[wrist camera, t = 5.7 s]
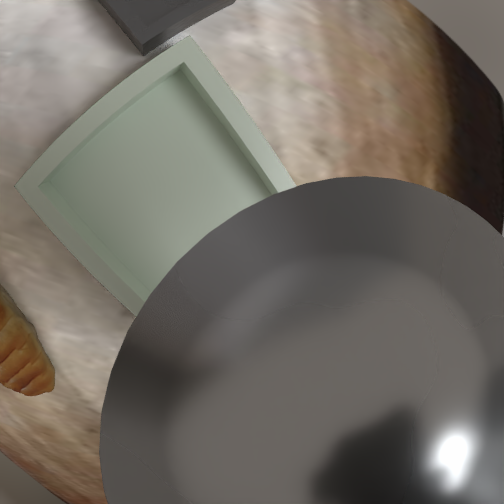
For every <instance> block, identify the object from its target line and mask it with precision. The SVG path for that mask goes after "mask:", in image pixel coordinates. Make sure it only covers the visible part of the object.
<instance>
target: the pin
mask: <svg viewBox="0 0 504 504" xmlns="http://www.w3.org/2000/svg"><path fill="white" fill-rule="evenodd" d="M99 454H100V464H101V472H102V480H103V487H104V492H105V495H106V499H107V502H108V504H504V238H503V236H502V235H501V234H500V233H499V232H498V231H496V230H495V229H494V228H493V227H492V226H491V225H490V224H489V223H488V222H487V221H486V220H484V219H483V218H482V217H480V216H479V215H478V214H476V213H475V212H473V211H472V210H471V209H469V208H468V207H466V206H465V205H463V204H461V203H459V202H458V201H456V200H454V199H452V198H450V197H448V196H446V195H444V194H442V193H440V192H437V191H434V190H432V189H429V188H427V187H424V186H421V185H418V184H414V183H409V182H405V181H401V180H396V179H389V178H379V177H367V176H363V177H342V178H333V179H327V180H322V181H317V182H312V183H306V184H303V185H300V186H297V187H294V188H291V189H288V190H285V191H282V192H279V193H276V194H273V195H271V196H269V197H267V198H265V199H263V200H261V201H259V202H257V203H255V204H253V205H251V206H249V207H247V208H245V209H243V210H241V211H240V212H238V213H237V214H235V215H234V216H232V217H231V218H229V219H228V220H226V221H225V222H224V223H222V224H221V225H219V226H218V227H216V228H215V229H213V230H212V231H211V232H209V233H208V234H207V235H205V236H204V237H203V238H202V239H201V240H200V241H199V242H198V243H197V244H196V245H195V246H193V247H192V248H191V249H190V250H189V251H188V252H187V253H186V254H185V255H184V256H183V257H182V258H180V259H179V260H178V261H177V262H176V264H175V265H174V266H173V267H172V268H171V270H170V271H169V272H168V273H167V274H166V276H165V277H164V278H163V279H162V280H161V282H160V283H159V284H158V285H157V287H156V288H155V289H154V290H153V292H152V293H151V294H150V295H149V297H148V299H147V300H146V302H145V304H144V305H143V307H142V309H141V310H140V312H139V313H138V315H137V317H136V318H135V320H134V322H133V323H132V325H131V327H130V329H129V330H128V332H127V334H126V337H125V339H124V341H123V344H122V346H121V349H120V351H119V353H118V356H117V358H116V361H115V363H114V366H113V368H112V371H111V374H110V378H109V382H108V387H107V391H106V395H105V399H104V404H103V408H102V414H101V429H100V448H99Z"/></svg>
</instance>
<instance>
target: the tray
mask: <svg viewBox="0 0 504 504" xmlns="http://www.w3.org/2000/svg"><path fill="white" fill-rule="evenodd" d="M14 187H15V188H16V189H17V191H18V192H19V193H20V194H21V196H22V197H23V198H24V199H25V201H26V202H27V203H28V204H29V206H30V207H31V208H32V209H33V210H34V212H35V213H36V214H37V215H38V216H39V218H40V219H41V220H42V221H43V222H44V223H45V225H46V226H47V227H48V228H49V229H50V230H51V231H52V233H53V234H54V235H55V236H56V237H57V238H58V239H59V240H60V241H61V243H62V244H63V245H64V246H65V247H66V248H67V249H68V250H69V251H70V252H71V253H72V254H73V255H74V257H75V258H76V259H77V260H78V261H79V262H80V263H81V264H82V265H83V266H84V267H85V268H86V269H87V270H88V271H89V272H90V273H91V274H92V275H93V276H94V277H95V278H96V279H97V280H98V281H99V282H100V283H101V284H102V285H103V286H104V287H105V288H106V289H107V290H108V291H109V292H110V293H111V294H112V295H113V296H114V297H115V298H117V299H118V300H119V301H120V302H121V303H122V304H123V305H124V306H125V307H126V308H127V309H128V310H129V311H131V312H132V313H133V314H134V315H135V316H136V317H137V315H138V313H139V312H140V310H141V309H142V307H143V305H144V304H145V302H146V300H147V299H148V297H149V295H150V294H151V293H152V292H153V290H154V289H155V288H156V287H157V285H158V284H159V283H160V282H161V280H162V279H163V278H164V277H165V276H166V274H167V273H168V272H169V271H170V270H171V268H172V267H173V266H174V265H175V264H176V262H177V261H178V260H179V259H180V258H182V257H183V256H184V255H185V254H186V253H187V252H188V251H189V250H190V249H191V248H192V247H193V246H195V245H196V244H197V243H198V242H199V241H200V240H201V239H202V238H203V237H204V236H205V235H207V234H208V233H209V232H211V231H212V230H213V229H215V228H216V227H218V226H219V225H221V224H222V223H224V222H225V221H226V220H228V219H229V218H231V217H232V216H234V215H235V214H237V213H238V212H240V211H241V210H243V209H245V208H247V207H249V206H251V205H253V204H255V203H257V202H259V201H261V200H263V199H265V198H267V197H269V196H271V195H273V194H276V193H279V192H282V191H285V190H288V189H291V188H294V187H297V186H296V185H295V183H294V181H293V180H292V178H291V177H290V175H289V174H288V172H287V170H286V169H285V167H284V166H283V164H282V163H281V161H280V160H279V158H278V157H277V155H276V154H275V152H274V151H273V149H272V148H271V146H270V145H269V143H268V142H267V140H266V139H265V137H264V136H263V134H262V133H261V131H260V130H259V128H258V127H257V126H256V124H255V123H254V121H253V120H252V118H251V117H250V115H249V114H248V113H247V111H246V110H245V108H244V107H243V106H242V104H241V103H240V101H239V100H238V99H237V97H236V96H235V94H234V93H233V92H232V90H231V89H230V87H229V86H228V85H227V83H226V82H225V81H224V79H223V78H222V77H221V75H220V74H219V73H218V71H217V70H216V69H215V67H214V66H213V65H212V63H211V62H210V61H209V59H208V58H207V57H206V55H205V54H204V53H203V52H202V50H201V49H200V48H199V46H198V45H197V44H196V43H195V41H194V40H193V39H192V38H191V36H190V35H189V36H188V37H186V38H184V39H183V40H181V41H180V42H178V43H176V44H175V45H173V46H172V47H170V48H168V49H167V50H165V51H164V52H162V53H161V54H159V55H158V56H156V57H155V58H154V59H152V60H151V61H149V62H148V63H146V64H145V65H144V66H142V67H141V68H139V69H138V70H137V71H135V72H134V73H133V74H131V75H130V76H129V77H127V78H126V79H125V80H123V81H122V82H121V83H119V84H118V85H117V86H116V87H114V88H113V89H112V90H111V91H109V92H108V93H107V94H106V95H105V96H103V97H102V98H101V99H100V100H99V101H97V102H96V103H95V104H94V105H93V106H92V107H90V108H89V109H88V110H87V111H86V112H85V113H84V114H83V115H81V116H80V117H79V118H78V119H77V120H76V121H75V122H74V123H73V124H72V125H71V126H70V127H69V128H68V129H66V130H65V131H64V132H63V133H62V134H61V135H60V136H59V137H58V138H57V139H56V140H55V141H54V142H53V143H52V144H51V145H50V146H49V147H48V149H47V150H46V151H45V152H44V153H43V154H42V155H41V156H40V157H39V158H38V159H37V160H36V161H35V162H34V164H33V165H32V166H31V167H30V168H29V169H28V170H27V172H26V173H25V174H24V175H23V176H22V177H21V178H20V180H19V181H18V182H17V183H16V184H15V186H14Z"/></svg>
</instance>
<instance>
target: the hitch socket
mask: <svg viewBox="0 0 504 504" xmlns="http://www.w3.org/2000/svg"><path fill="white" fill-rule="evenodd" d="M98 1H99V2H100V3H101V4H102V6H103V7H104V8H105V9H106V10H107V12H108V13H109V14H110V15H111V16H112V18H113V19H114V20H115V21H116V23H117V24H118V25H119V26H120V27H121V29H122V30H123V31H124V32H125V34H126V35H127V36H128V37H129V39H130V40H131V41H132V42H133V43H134V45H135V46H136V47H137V48H138V50H139V51H140V52H141V53H142V55H143V56H144V55H146V54H147V53H149V52H150V51H152V50H153V49H155V48H156V47H158V46H159V45H161V44H162V43H164V42H165V41H167V40H168V39H170V38H172V37H173V36H175V35H177V34H178V33H180V32H181V31H183V30H185V29H187V28H188V27H190V26H192V25H193V24H195V23H197V22H199V21H201V20H202V19H204V18H206V17H208V16H210V15H212V14H213V13H215V12H217V11H219V10H221V9H223V8H225V7H227V6H229V5H231V4H233V3H234V2H235V1H236V0H98Z"/></svg>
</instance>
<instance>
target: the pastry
mask: <svg viewBox="0 0 504 504" xmlns="http://www.w3.org/2000/svg"><path fill="white" fill-rule="evenodd" d="M0 383H2V384H3V385H4V386H5V387H7V388H10V389H13V390H14V391H16V392H19V393H22V394H24V395H26V396H36V395H40V394H43V393H45V392H51V391H52V390H53V389H54V386H55V369H54V367H53V365H52V363H51V361H50V359H49V357H48V356H47V355H46V353H45V351H44V349H43V347H42V345H41V343H40V341H39V339H38V336H37V333H36V330H35V328H34V326H33V324H31V323H30V322H28V321H27V319H26V318H25V316H24V314H23V313H22V312H21V311H20V309H19V308H18V307H17V305H16V304H15V302H14V300H13V299H12V298H11V297H10V295H9V294H8V293H7V291H6V290H5V289H4V288H3V286H2V285H1V284H0Z"/></svg>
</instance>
